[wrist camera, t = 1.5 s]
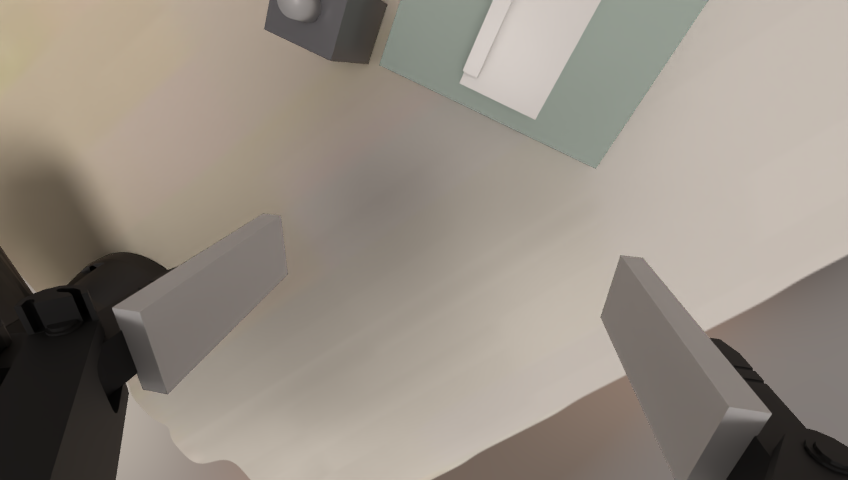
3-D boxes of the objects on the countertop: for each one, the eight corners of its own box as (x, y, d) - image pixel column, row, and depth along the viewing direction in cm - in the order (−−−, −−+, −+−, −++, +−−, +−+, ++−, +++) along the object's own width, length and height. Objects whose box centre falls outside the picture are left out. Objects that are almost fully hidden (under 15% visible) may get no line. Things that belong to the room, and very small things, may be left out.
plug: (318, 40, 33) (247, 25, 23) (333, -22, 31) (262, -67, 21) (368, 63, 33) (318, 60, 23) (387, 4, 31) (341, -28, 21)
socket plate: (384, 65, 33) (379, 65, 31) (461, -162, 26) (459, -179, 24) (589, 163, 34) (595, 168, 32) (717, -31, 27) (734, -39, 25)
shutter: (459, 83, 31) (456, 84, 27) (542, -106, 25) (551, -135, 22) (534, 118, 31) (539, 124, 27) (632, -60, 25) (655, -81, 22)
